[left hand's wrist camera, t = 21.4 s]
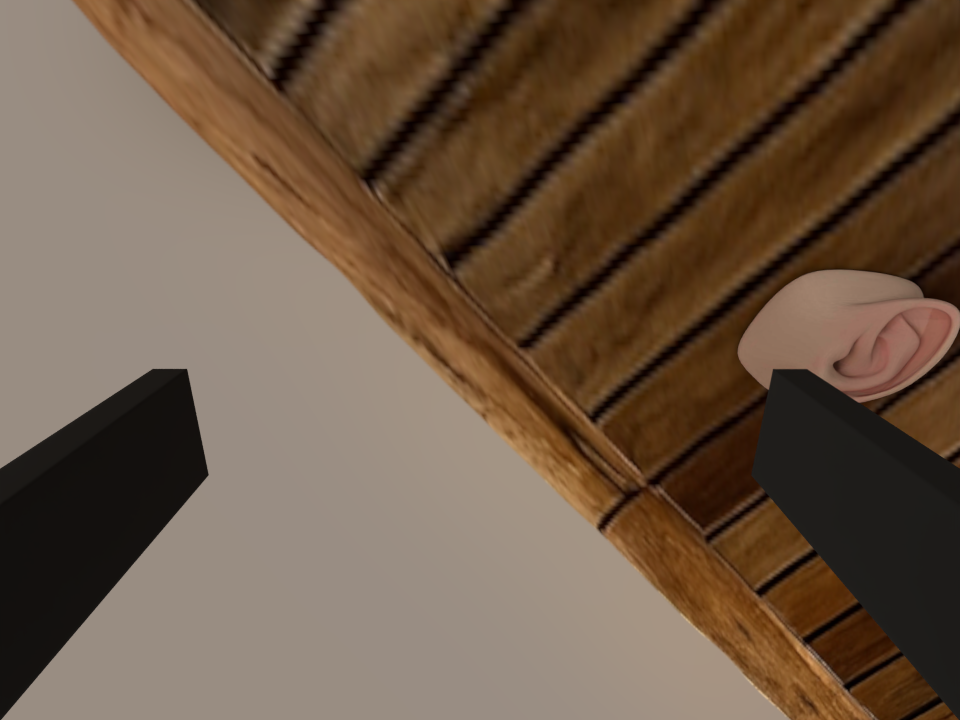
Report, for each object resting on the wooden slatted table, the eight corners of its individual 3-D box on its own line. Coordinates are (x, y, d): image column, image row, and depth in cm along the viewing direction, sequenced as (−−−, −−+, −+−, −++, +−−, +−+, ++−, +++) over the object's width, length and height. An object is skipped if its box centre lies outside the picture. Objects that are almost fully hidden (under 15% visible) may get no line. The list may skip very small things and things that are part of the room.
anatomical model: (742, 402, 41) (815, 252, 37) (720, 381, 44) (784, 243, 40) (901, 443, 42) (988, 303, 38) (867, 419, 46) (942, 289, 42)
